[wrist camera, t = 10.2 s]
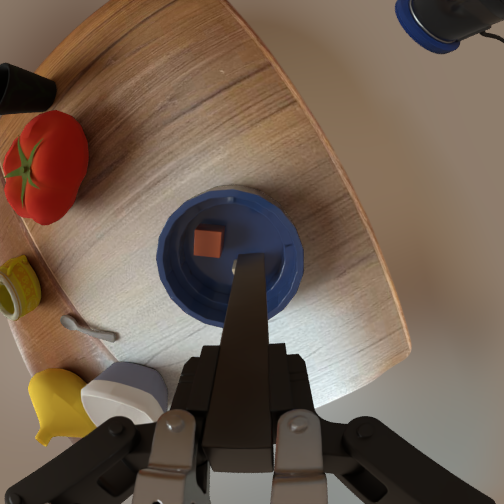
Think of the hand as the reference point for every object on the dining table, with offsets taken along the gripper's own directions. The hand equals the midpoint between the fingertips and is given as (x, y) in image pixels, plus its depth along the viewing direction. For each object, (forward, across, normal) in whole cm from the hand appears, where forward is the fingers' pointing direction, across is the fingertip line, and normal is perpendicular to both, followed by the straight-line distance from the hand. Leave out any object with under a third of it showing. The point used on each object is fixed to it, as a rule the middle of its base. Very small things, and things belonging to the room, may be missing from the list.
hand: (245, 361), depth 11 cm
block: (+24, +5, +1) cm, 25 cm away
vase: (+25, +44, +34) cm, 61 cm away
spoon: (+25, +31, +16) cm, 43 cm away
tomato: (+25, +28, -12) cm, 40 cm away
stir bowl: (+25, +3, +3) cm, 25 cm away
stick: (+11, 0, 0) cm, 11 cm away
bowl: (+25, +24, +29) cm, 45 cm away
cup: (+25, +32, -25) cm, 48 cm away
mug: (+25, +44, +6) cm, 51 cm away
